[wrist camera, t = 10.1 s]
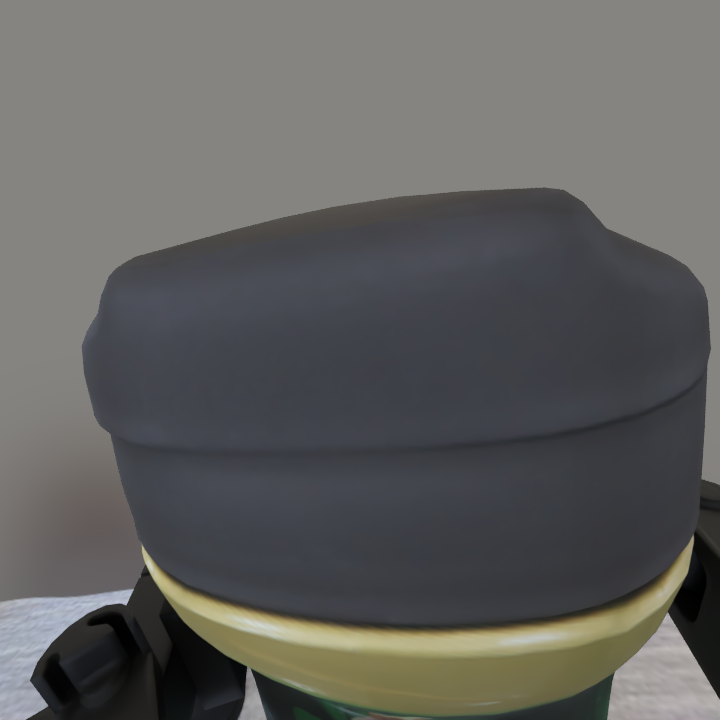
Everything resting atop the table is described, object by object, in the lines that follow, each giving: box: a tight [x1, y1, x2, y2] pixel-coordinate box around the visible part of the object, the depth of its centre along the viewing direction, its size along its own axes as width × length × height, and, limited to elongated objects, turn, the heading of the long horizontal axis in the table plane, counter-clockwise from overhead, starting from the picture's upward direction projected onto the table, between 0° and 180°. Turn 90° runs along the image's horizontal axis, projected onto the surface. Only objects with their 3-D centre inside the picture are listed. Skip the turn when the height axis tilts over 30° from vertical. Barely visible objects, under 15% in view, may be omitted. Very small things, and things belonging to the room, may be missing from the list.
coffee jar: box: [82, 188, 711, 720], centre depth 9 cm, size 10×8×19 cm
